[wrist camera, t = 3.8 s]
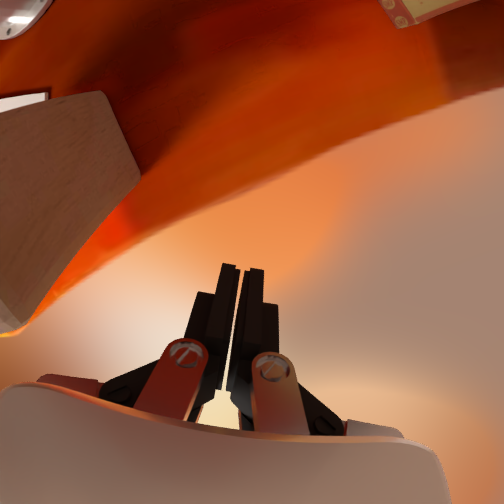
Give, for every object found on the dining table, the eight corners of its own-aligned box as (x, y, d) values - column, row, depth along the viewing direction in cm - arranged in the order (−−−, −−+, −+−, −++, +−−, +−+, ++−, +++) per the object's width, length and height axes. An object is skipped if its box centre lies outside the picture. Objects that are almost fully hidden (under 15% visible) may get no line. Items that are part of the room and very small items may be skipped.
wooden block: (106, 85, 22) (-83, 136, 5) (147, 178, 27) (27, 336, 10) (34, 135, 23) (-116, 226, 6) (73, 214, 28) (-40, 350, 11)
